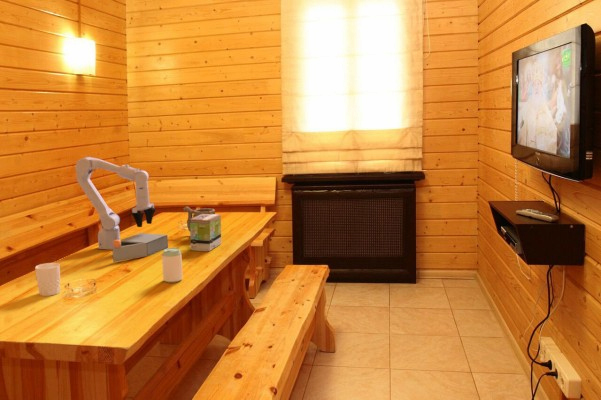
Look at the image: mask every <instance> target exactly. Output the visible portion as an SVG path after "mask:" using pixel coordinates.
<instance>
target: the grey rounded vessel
mask: <svg viewBox="0 0 601 400" xmlns="http://www.w3.org/2000/svg"><path fill="white" fill-rule="evenodd" d="M182 210H183V212H187V219H186V220H187V221H186V228H187V229H188V231H189V232H190V219H192V218H194V217H196V216H199V215H201V214H216V210H215V209H214V208H207V207H204V208H197V209H191V208H190V207H189V206H185V207H183V209H182Z"/></svg>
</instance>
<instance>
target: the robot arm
mask: <svg viewBox="0 0 601 400" xmlns="http://www.w3.org/2000/svg"><path fill="white" fill-rule="evenodd" d="M74 169H75V171H76V172H75V173H76V181H77V184H78V185H79V186H80V188H81V189H82V191H83V193H84V194H85V195H86V197H87V198H88V200H89V201H90V204H92V206H93V207H94V209H95V210H96V212H97V214H98V219H99V220H100V223H101V229H99V230H98V232H97V241H98V242H97V243H98V244H97V245H98V247H97V249H99V250H100V249H101V250H108V251H109V250H111V251H113V248H114V244H113V240H121V235H120V226H119V224H120V221H121V217H120V215H118V214H117V213H115V212H114V211H113V209H111V208H110V207H109V205H107V203H106V201H105V200H104V198H103V197H102V196H101V193H99V191H98V189H97V188H96V187H95V185H94V183H93V182H92V180H91V176H92V173H93V171H94V170H98V169H102V170H105V171H109V172H112V173H116V174H118V177H120V178H124V179H125V180H129V181H131V182H134V183H135V198H136V206H135V207H133V208H131V211H132V212H131V213H130V214H131V216H132V217H133V218H134V221H135V223H136V226H137V228H142V227H143V219H144V218H143V217H144V215H145V222H146V224H147V225H148V224H149V225H151V224H152V223H153V218H154V214H155V212H156V207H155V203H151V202H150V192H149V181H148V180H149V178H150V175H149V173H148V172H147V171H146V170H144V169H141V170H140V168H134V167H131V166H130V165H129V164H122V165H120V166H119V165H117V164H114V163H111V162H109V161H106V160H103V159H101V158H96V157H92V156H86V157H82V158H79V159H78V161H77V162H76V164H75V167H74Z"/></svg>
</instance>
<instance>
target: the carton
mask: <svg viewBox="0 0 601 400" xmlns="http://www.w3.org/2000/svg"><path fill="white" fill-rule="evenodd" d="M120 240H121V246H127V245H133V244H138V243H144V242H146V243H147V256H146V257H149V256H151V255H154V254H156V253H159V252H161V251H164V250H165V249H168V248H169V239H168V235H167V234H159V233H145V232H144V233H143V232H139V233H136V234H133V235H131V236H128V237H125V238H122V239H120ZM158 251H159V252H158Z"/></svg>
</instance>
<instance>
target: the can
mask: <svg viewBox="0 0 601 400" xmlns="http://www.w3.org/2000/svg"><path fill="white" fill-rule="evenodd" d="M161 261H162V280H163V281H164V282H165V283H169V284H170V283H171V284H173V283H178V282H180V281H181V280H183V264H182V263H183V261H182V252H181V250H180V248H177V247H168V248H166V249H163V252H162V253H161Z"/></svg>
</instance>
